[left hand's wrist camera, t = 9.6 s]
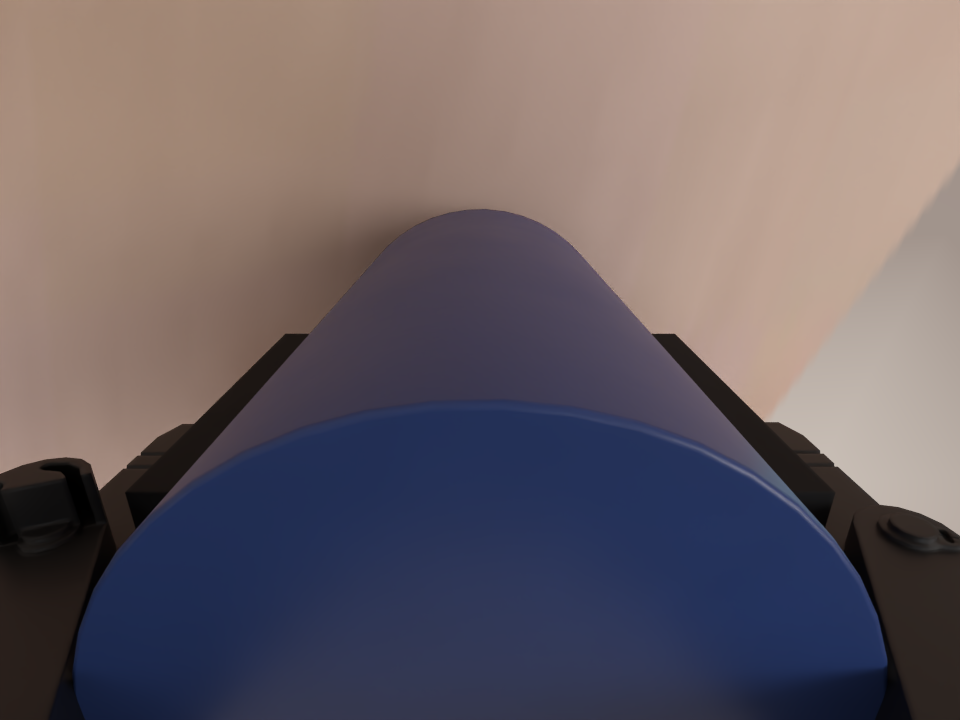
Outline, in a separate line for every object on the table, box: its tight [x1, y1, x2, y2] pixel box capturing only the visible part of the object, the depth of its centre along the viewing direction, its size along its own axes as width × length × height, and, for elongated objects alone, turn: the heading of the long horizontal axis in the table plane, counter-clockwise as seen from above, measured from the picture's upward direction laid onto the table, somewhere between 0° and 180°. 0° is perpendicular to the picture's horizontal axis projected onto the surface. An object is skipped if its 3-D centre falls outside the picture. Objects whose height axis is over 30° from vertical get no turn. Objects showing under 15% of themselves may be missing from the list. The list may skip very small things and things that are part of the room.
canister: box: [72, 209, 888, 720], centre depth 11 cm, size 8×8×12 cm
